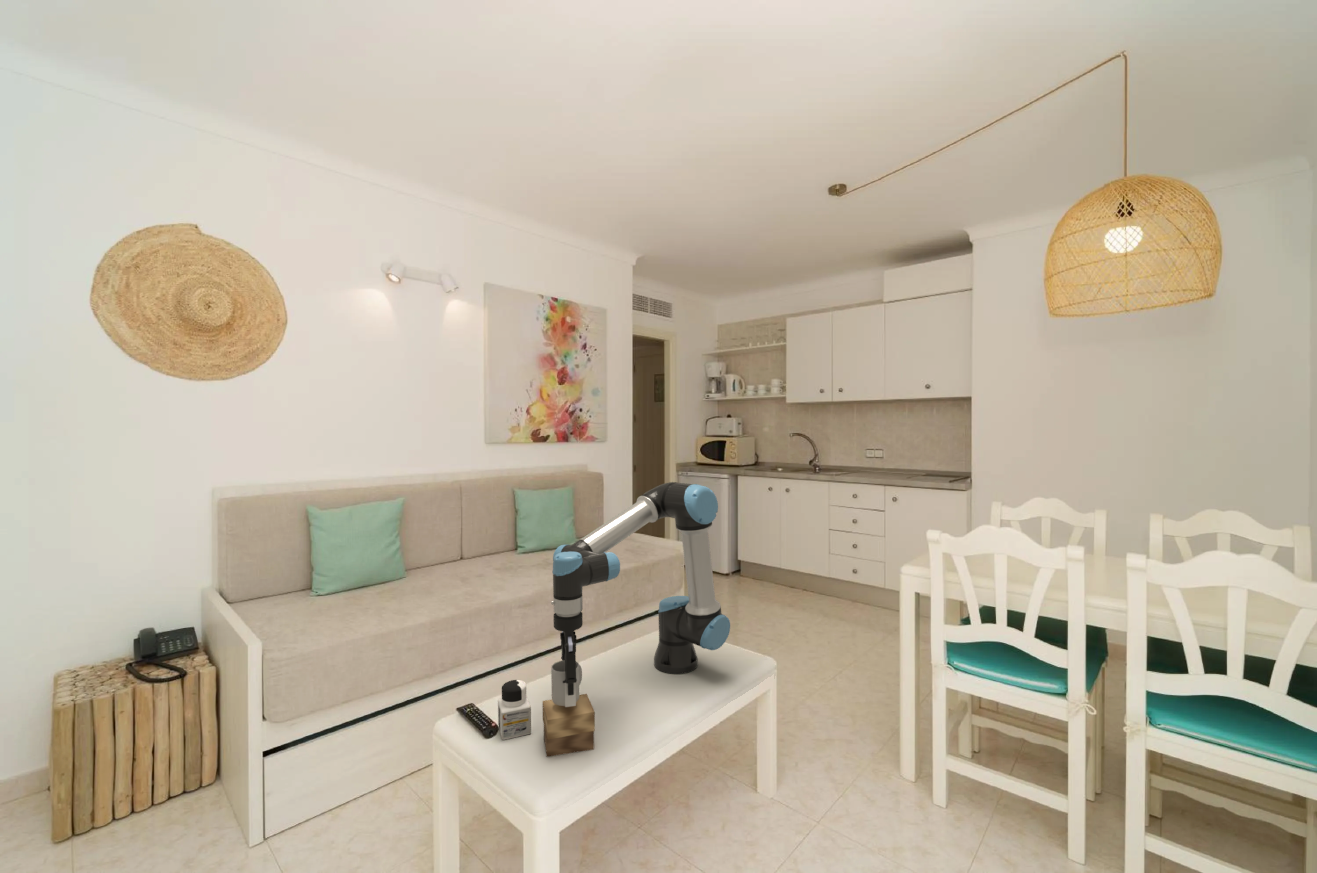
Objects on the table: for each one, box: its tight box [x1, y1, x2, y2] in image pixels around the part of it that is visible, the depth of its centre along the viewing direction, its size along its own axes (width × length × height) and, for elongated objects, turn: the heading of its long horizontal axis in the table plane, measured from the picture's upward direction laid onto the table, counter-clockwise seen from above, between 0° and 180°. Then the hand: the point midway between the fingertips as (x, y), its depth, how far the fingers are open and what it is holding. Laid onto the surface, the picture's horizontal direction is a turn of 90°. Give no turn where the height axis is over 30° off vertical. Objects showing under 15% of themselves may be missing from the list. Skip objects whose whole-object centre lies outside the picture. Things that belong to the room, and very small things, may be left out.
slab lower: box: [543, 726, 595, 758], centre depth 146 cm, size 12×10×5 cm
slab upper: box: [542, 693, 596, 740], centre depth 146 cm, size 12×10×5 cm
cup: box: [550, 659, 583, 706], centre depth 147 cm, size 7×10×9 cm
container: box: [497, 679, 532, 741], centre depth 152 cm, size 8×8×13 cm
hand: (568, 697), depth 147 cm, fingers closed on cup, 8 cm apart
